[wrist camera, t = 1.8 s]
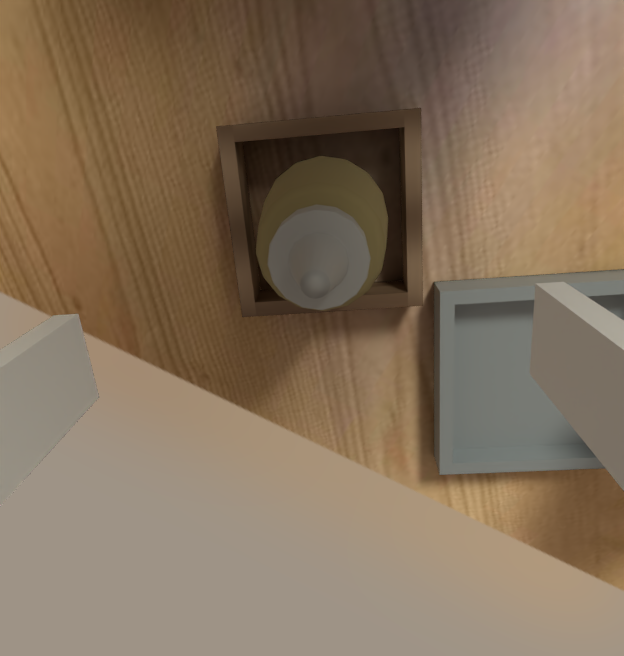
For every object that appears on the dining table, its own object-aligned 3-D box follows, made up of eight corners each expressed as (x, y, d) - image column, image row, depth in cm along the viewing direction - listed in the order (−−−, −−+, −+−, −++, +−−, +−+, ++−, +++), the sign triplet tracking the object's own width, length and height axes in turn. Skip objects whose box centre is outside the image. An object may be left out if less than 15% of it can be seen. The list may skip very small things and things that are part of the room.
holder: (226, 126, 35) (216, 126, 32) (414, 109, 34) (420, 107, 31) (249, 303, 40) (242, 317, 37) (416, 292, 39) (422, 305, 36)
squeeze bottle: (330, 291, 39) (324, 414, 22) (245, 218, 37) (169, 292, 20) (407, 208, 36) (467, 276, 20) (320, 126, 35) (304, 124, 18)
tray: (433, 281, 38) (440, 291, 36) (648, 267, 37) (669, 276, 35) (434, 456, 43) (439, 474, 41) (622, 448, 42) (638, 466, 40)
